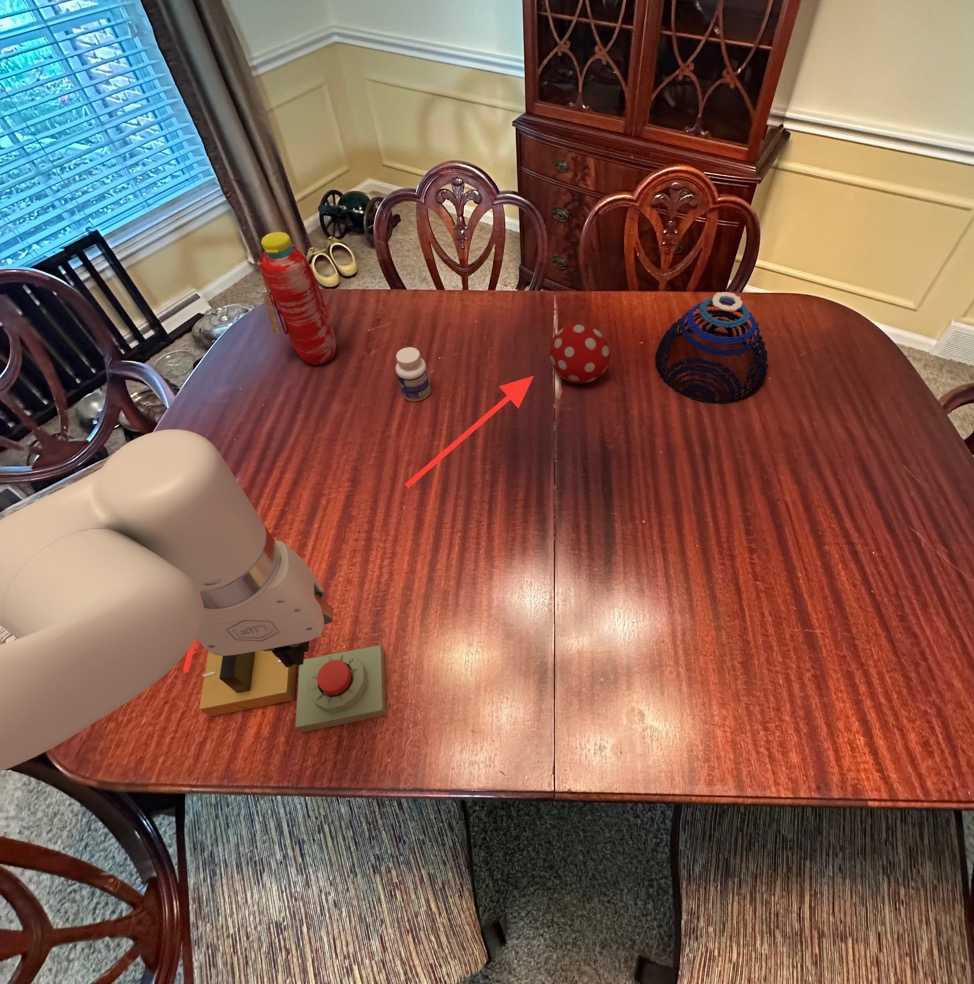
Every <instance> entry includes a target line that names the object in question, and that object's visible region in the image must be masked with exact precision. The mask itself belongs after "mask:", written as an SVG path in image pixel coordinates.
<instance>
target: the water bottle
mask: <svg viewBox="0 0 974 984" xmlns="http://www.w3.org/2000/svg"><path fill="white" fill-rule="evenodd" d="M260 243H261V246H262V249H263V250H264V252H263V253H261V255H260V259H259V260H257V261H256V264H257V266H258V269H259V272H260V276H261V278H262V281H263V285H264V287H265V289H266V291H262V292H261V294H262V297H263V300H264V304H265V307H266V312H267V314H268V319H269V322H270V325H271V329H272V332H273V334H276V335H281V330H280V326H279V323H278V318H279V321H280V324H281V327H282V331H283V333H284V334H285V335H288V336H289V340H290V342H291V344H292V346H293V348H294V351H295V352H296V353H297V355H298V356H299V357H300V358H301V359H302V360H303V361H304V362H305V363H307V364H310V365H314V366H318V365H324V364H325V363H328V362H329V361H331V360H332V359H333V358H334V356H335V355H336V350H337V338H336V335H335V332H334V329H333V326H332V324H331V322H330V319H329V318H330V314H329V310H328V307H327V304H325V301H324V297H323V293H322V290H321V288H320V286H319V282H318V281H317V278H316V276H315V272H314V270H313V268H312V266H311V264H310V262H309V261H308V258H307V256H306V255H305V254H304V253H303V252H302V250H300V249H299V248H298V247H297V246H296V245H294V244H293V243H292V240H291V237H290V235H289V234H287V233H286V232H282V231H273V232H270V233H268V234H265V235H264V236H263V237H262V238H261V242H260ZM275 310H276V311H275ZM276 312H277V315H276ZM277 316H278V318H277Z"/></svg>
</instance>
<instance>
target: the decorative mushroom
mask: <svg viewBox="0 0 974 984" xmlns="http://www.w3.org/2000/svg"><path fill="white" fill-rule="evenodd" d="M548 346H549V347H548V357H549V361H550V365H551V367H552V369H553V370H554V371H555V373H556V374H557V375H558V376H559V377H560V378H562V379H564V380H565V381H567V382H569V383H573V384H580V385H581V384H586V383H591V382H594V381H596V380H597V379H598V378H600V377H601V376H603V375H604V373H605V371H606V370H607V369H608V367H609V365H610V359H611V350H610V347H609V343H608V340H607V339H606V338H605V337H604V336H603V334H602V333H601V332H600V331H599V330H598V329H596V328H594V327H593V326H590V325H589V324H581V323H574V324H570V325H566V326H563V327H562V328H561V329H560V330H558V331H557V332H555V333H554V335H553V337H552V339H551V340H550V343H549V345H548Z"/></svg>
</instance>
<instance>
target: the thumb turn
mask: <svg viewBox="0 0 974 984" xmlns="http://www.w3.org/2000/svg"><path fill="white" fill-rule="evenodd" d="M254 656H255V651H254V652H248V653H242V654H236V655H228V656H223V658H222V664H221V671H220V677H219V679H221V680H222V681H223V682H224V683H225V684H227V685H228V686H229V687H230V688H231V689H233V690H234V691H235V692H236V693H239V692H245V691H250V688H251V680H252V672H253V664H254Z"/></svg>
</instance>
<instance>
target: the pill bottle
mask: <svg viewBox="0 0 974 984" xmlns="http://www.w3.org/2000/svg"><path fill="white" fill-rule="evenodd" d="M395 358H396V365H395V373H396V377H397V380H398V384H399V388H400V392H401V395H402V397H403V398H404V399H405V400H407V401H410V402H421V401H423V400H424V399H426V398H427V397H428V396H429V395H430V394H431V392H432V387H431V383H430V378H429V373H428V368H427V364H426V363H427V362H426V361H425V360H424V359H423V358H422V357H421V353H420V351H419V349H417V348H416V347H412V346H407V347H403V348H400V350H398V351H397V353H396V354H395Z"/></svg>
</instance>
